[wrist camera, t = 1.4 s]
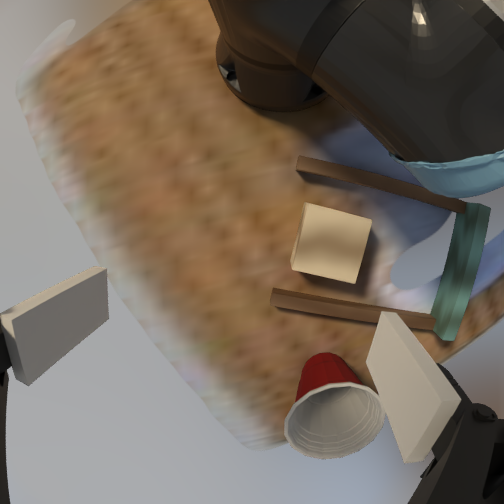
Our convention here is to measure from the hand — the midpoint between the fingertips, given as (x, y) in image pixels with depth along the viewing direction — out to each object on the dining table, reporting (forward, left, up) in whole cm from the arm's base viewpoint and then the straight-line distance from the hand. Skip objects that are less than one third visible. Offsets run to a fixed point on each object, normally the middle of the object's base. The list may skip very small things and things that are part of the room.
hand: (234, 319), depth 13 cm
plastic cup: (+15, +11, -23) cm, 30 cm away
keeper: (-2, +7, -23) cm, 24 cm away
